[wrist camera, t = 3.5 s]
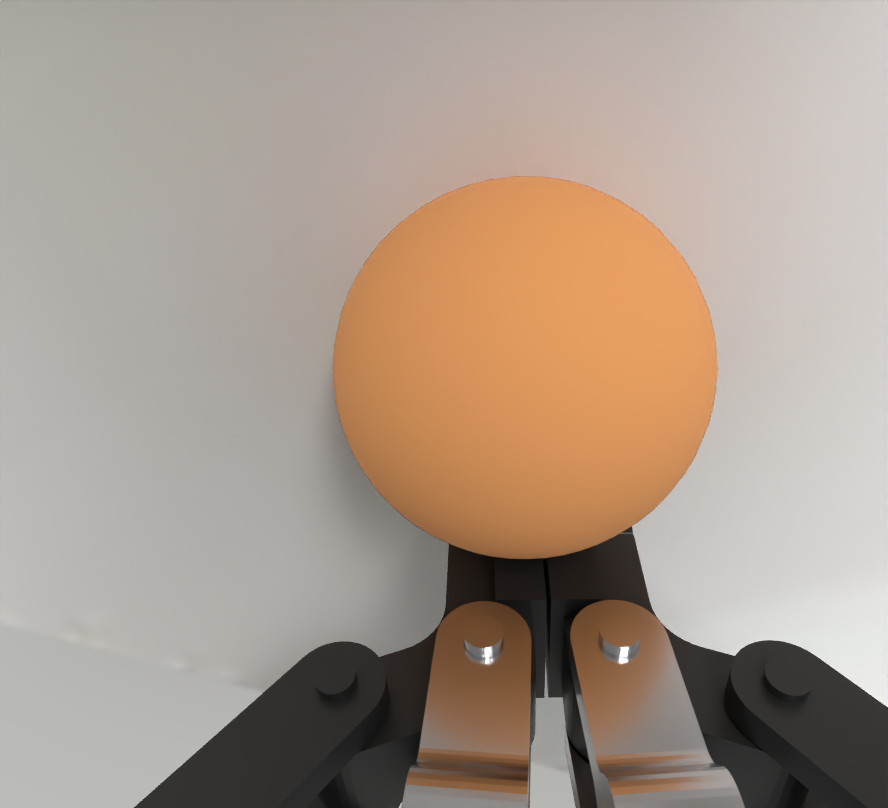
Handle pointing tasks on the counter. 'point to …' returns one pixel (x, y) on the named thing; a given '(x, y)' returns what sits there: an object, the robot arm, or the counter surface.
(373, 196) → the counter surface
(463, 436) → the ball
